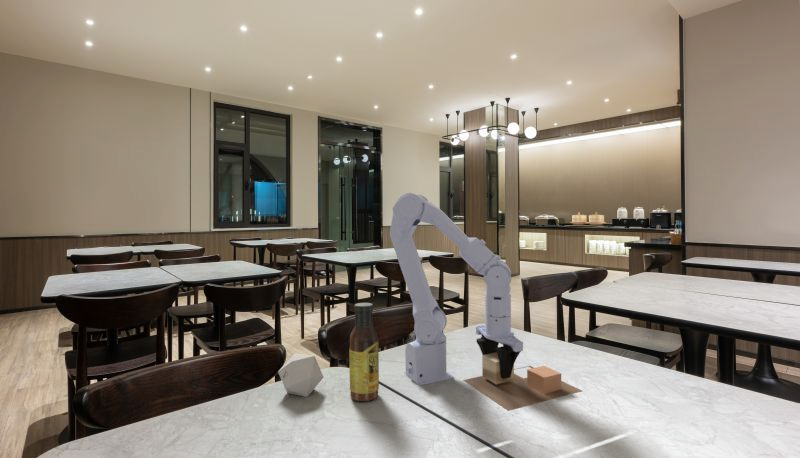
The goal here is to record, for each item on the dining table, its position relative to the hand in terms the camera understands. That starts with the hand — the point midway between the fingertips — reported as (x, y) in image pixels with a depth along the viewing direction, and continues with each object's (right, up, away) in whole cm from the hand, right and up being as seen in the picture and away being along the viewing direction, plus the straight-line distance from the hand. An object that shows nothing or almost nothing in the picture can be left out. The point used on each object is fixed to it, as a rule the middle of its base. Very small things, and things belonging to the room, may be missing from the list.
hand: (498, 373), depth 92 cm
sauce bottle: (-30, -3, -6) cm, 31 cm away
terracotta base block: (+9, -2, -3) cm, 10 cm away
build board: (+4, -2, -2) cm, 5 cm away
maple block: (0, -1, 0) cm, 1 cm away
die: (-44, -3, -3) cm, 45 cm away
